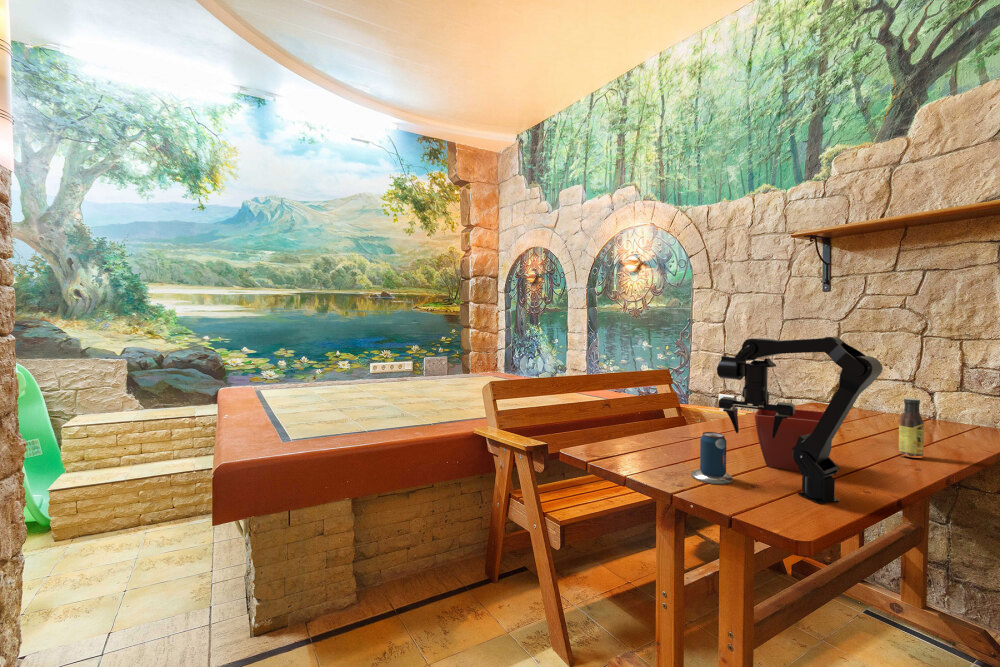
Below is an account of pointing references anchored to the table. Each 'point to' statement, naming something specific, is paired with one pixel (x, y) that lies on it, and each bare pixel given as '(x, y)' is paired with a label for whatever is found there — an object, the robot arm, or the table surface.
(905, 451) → the sauce bottle
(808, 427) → the plant pot
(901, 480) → the table surface
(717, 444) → the soda can
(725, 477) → the silver metal disc
